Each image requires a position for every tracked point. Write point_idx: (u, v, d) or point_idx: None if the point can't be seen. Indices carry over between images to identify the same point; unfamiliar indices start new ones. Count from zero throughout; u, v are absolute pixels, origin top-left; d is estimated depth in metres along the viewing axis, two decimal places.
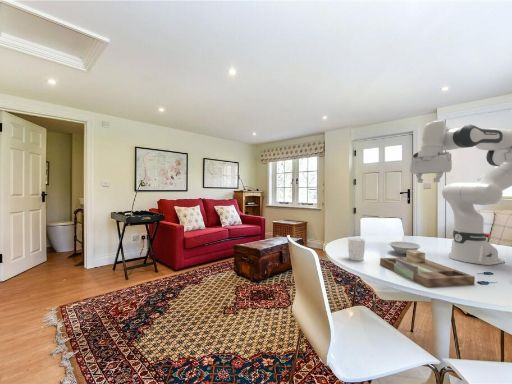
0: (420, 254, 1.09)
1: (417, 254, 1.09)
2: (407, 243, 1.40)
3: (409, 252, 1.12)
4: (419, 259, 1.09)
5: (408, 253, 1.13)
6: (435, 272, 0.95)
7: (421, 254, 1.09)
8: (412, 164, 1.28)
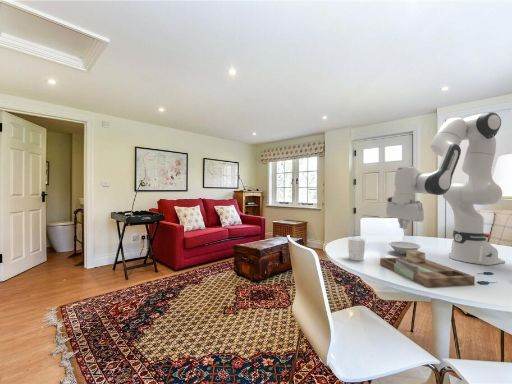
0: (420, 254, 1.09)
1: (417, 254, 1.09)
2: (407, 243, 1.40)
3: (409, 252, 1.12)
4: (419, 259, 1.09)
5: (408, 253, 1.13)
6: (435, 272, 0.95)
7: (421, 254, 1.09)
8: (387, 207, 1.27)
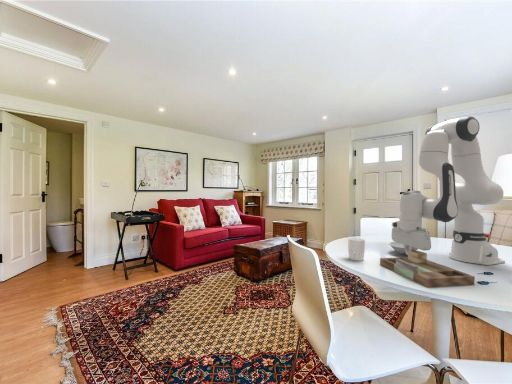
0: (422, 255, 1.08)
1: (419, 255, 1.08)
2: None
3: (410, 253, 1.11)
4: (421, 259, 1.08)
5: (409, 254, 1.12)
6: (435, 272, 0.95)
7: (423, 255, 1.08)
8: (393, 232, 1.23)
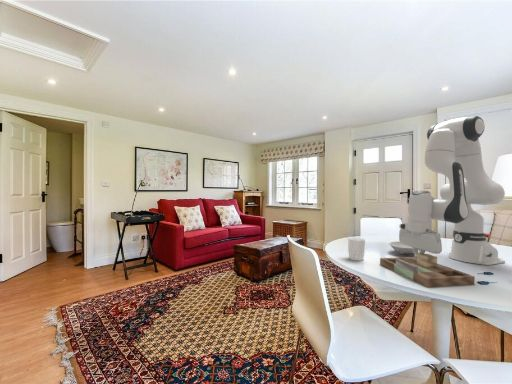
0: (432, 258, 1.03)
1: (428, 258, 1.03)
2: None
3: (420, 256, 1.06)
4: (431, 263, 1.03)
5: (419, 257, 1.06)
6: (435, 272, 0.95)
7: (433, 258, 1.03)
8: (400, 234, 1.18)
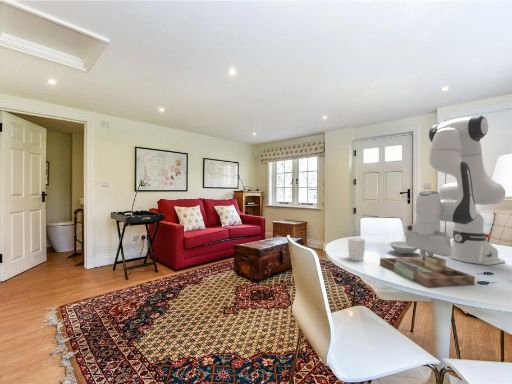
0: (441, 261, 0.99)
1: (437, 261, 0.99)
2: None
3: (428, 259, 1.02)
4: (440, 266, 0.99)
5: (427, 260, 1.02)
6: (435, 272, 0.95)
7: (442, 261, 0.99)
8: (407, 236, 1.14)
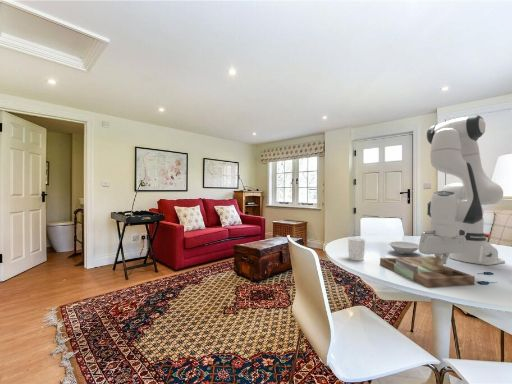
0: (438, 261, 0.99)
1: (434, 261, 0.99)
2: (407, 243, 1.40)
3: (425, 259, 1.02)
4: (437, 266, 0.99)
5: (424, 260, 1.02)
6: (435, 272, 0.95)
7: (439, 261, 0.99)
8: None
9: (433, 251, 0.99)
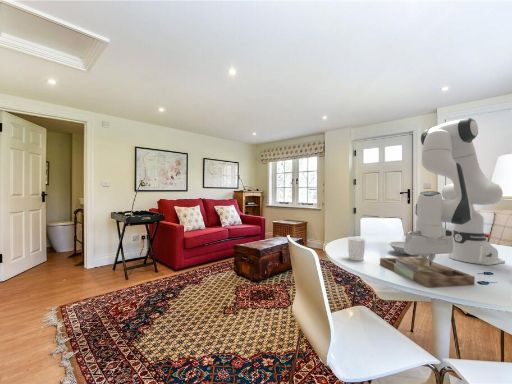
0: (424, 261, 0.98)
1: (420, 261, 0.98)
2: None
3: (411, 259, 1.01)
4: (423, 267, 0.98)
5: (410, 260, 1.02)
6: (435, 272, 0.95)
7: (425, 261, 0.98)
8: None
9: (418, 251, 0.98)
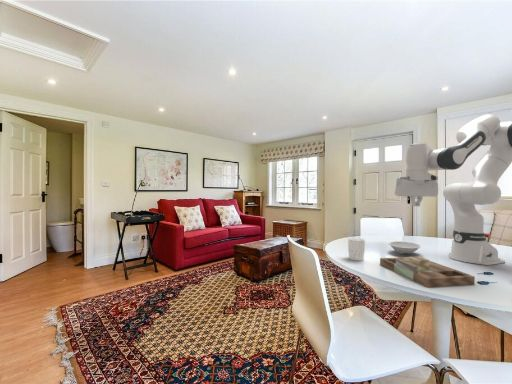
0: (424, 261, 0.98)
1: (420, 261, 0.98)
2: (407, 243, 1.40)
3: (411, 259, 1.01)
4: (423, 267, 0.98)
5: (410, 260, 1.02)
6: (435, 272, 0.95)
7: (425, 261, 0.98)
8: None
9: (407, 193, 1.14)
